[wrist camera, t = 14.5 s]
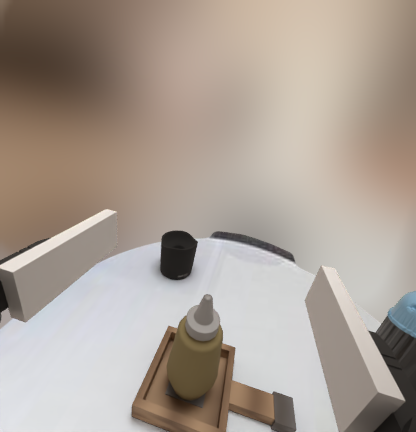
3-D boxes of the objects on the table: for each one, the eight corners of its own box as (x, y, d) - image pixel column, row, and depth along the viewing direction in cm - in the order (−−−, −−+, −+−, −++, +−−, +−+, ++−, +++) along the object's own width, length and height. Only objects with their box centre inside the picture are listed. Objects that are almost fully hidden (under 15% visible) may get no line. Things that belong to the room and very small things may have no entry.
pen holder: (154, 277, 56) (157, 245, 52) (164, 257, 65) (167, 228, 61) (189, 284, 56) (195, 252, 52) (194, 262, 65) (199, 234, 61)
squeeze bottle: (166, 354, 38) (177, 274, 31) (211, 354, 39) (231, 278, 32) (162, 411, 31) (175, 324, 23) (217, 409, 32) (246, 326, 25)
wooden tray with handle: (285, 375, 39) (290, 365, 38) (296, 482, 27) (304, 472, 26) (167, 336, 42) (168, 325, 41) (131, 416, 30) (132, 404, 29)
